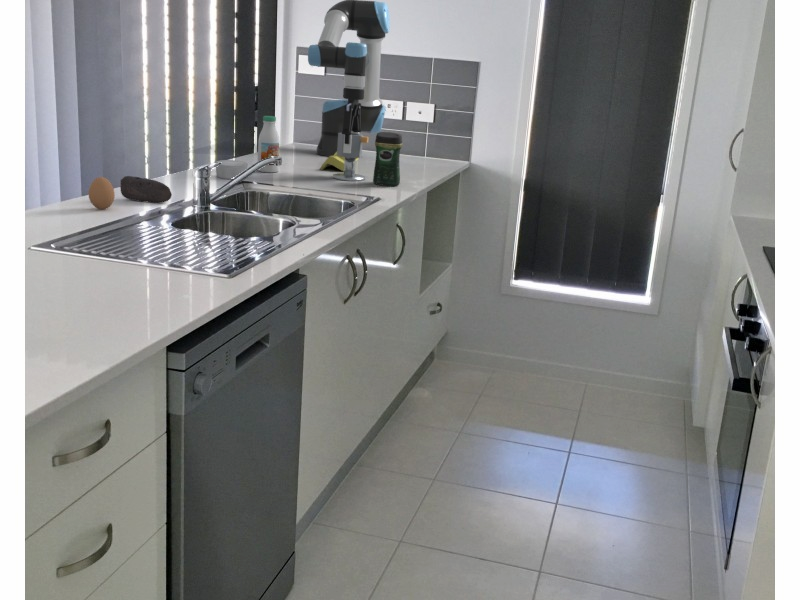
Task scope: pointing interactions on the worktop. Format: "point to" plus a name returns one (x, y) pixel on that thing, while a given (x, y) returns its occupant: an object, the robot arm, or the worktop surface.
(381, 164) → the coffee jar
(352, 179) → the duct stub
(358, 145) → the grey octagonal holder
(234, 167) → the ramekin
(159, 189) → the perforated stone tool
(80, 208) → the worktop surface
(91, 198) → the egg
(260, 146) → the milk bottle
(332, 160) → the plastic component
